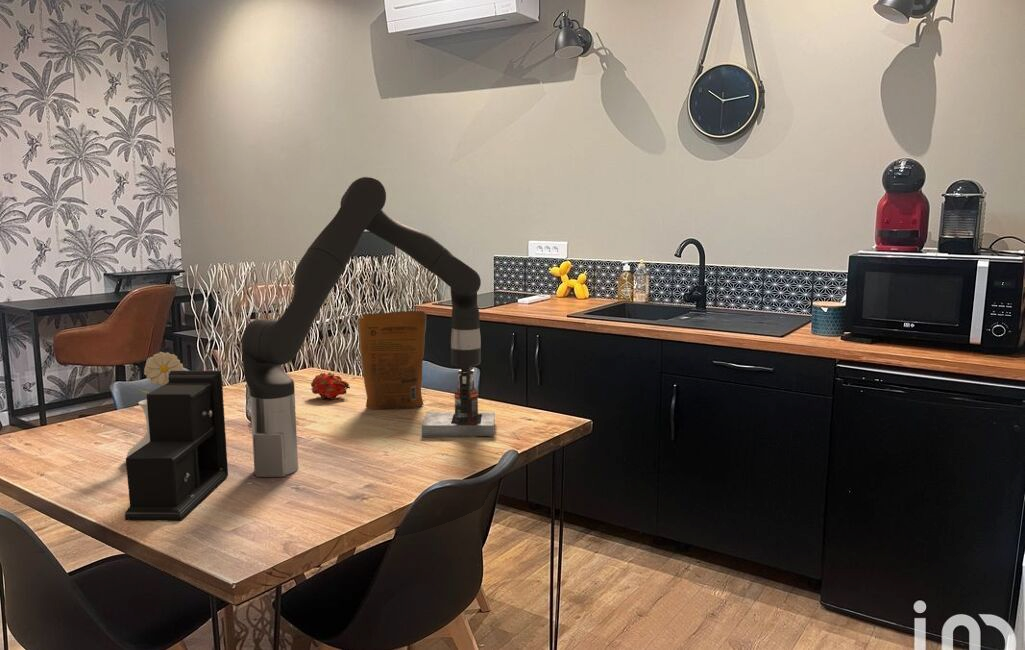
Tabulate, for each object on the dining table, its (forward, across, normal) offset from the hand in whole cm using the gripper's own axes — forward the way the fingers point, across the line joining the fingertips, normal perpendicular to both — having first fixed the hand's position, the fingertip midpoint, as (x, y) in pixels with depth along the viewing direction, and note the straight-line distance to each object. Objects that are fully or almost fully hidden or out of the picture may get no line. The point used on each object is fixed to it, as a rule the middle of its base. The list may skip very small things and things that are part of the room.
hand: (466, 409), depth 196 cm
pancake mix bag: (+6, +22, +22) cm, 32 cm away
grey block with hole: (+5, 0, +2) cm, 6 cm away
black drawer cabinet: (+6, -45, +54) cm, 71 cm away
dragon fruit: (+6, +33, +43) cm, 54 cm away
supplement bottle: (+4, 0, 0) cm, 4 cm away
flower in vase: (+6, -23, +69) cm, 73 cm away
